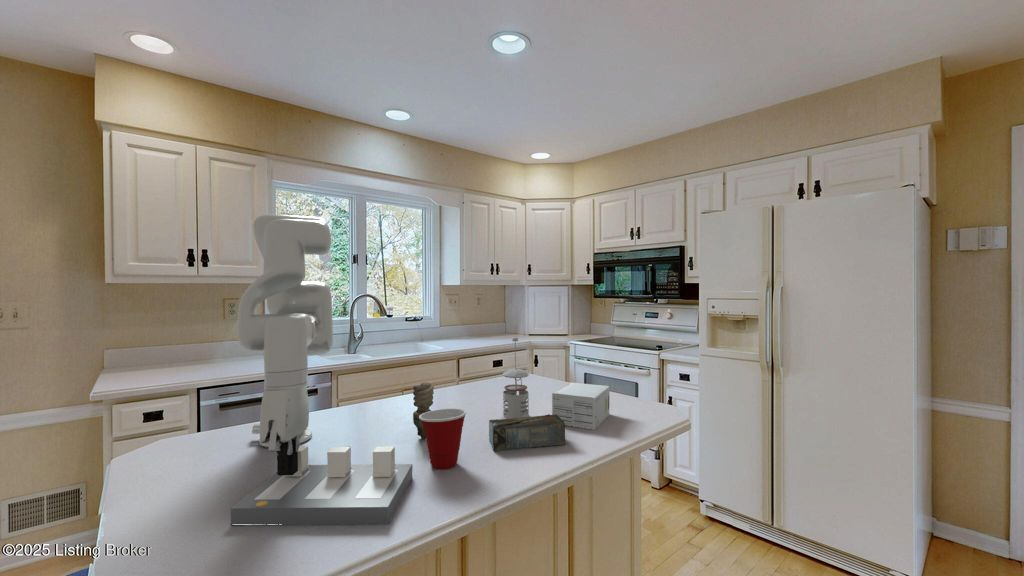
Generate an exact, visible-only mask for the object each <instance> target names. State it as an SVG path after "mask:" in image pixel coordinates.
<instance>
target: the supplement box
mask: <svg viewBox="0 0 1024 576" xmlns="http://www.w3.org/2000/svg"><path fill="white" fill-rule="evenodd" d="M610 392H611V391H610V385H600V384H590V383H581V382H570V383H568V384H566V385H565V386H563V387H562V388H559V389H558V390H557V391H554V392H552V394H551V396H552V397H551V402H552V403H551V404H552V405H551V406H552V407H551V415H555V414H556V415H557V416H558V417H560V418H561V419H562V420H563V421H564V423H565V425H567V426H566V427H571V426H573V428H578V427H579V429H584V428H586V429H585V430H590V429H592V431H595V430H596V429H597V428H598V427H599V426H600V425H601V424H602V423H603V422H604V421H605V420H606V419H607V418H608V416H610Z"/></svg>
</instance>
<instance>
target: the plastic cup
mask: <svg viewBox="0 0 1024 576" xmlns="http://www.w3.org/2000/svg"><path fill="white" fill-rule="evenodd" d="M466 415H467V410H465V409H462V408H441V409H440V408H439V409H433V410H431V411H429V412H426V413H423V414H421V415H419V419H420V420H421V422H422V425H423V428H424V431H425V436H426V438H425V440H426V447H427V452H428V455H429V462H430V465H431V468H433V469H436V470H438V471H439V470H441V471H442V470H443V471H444V470H449V469H452V468H455V467H456V465H457V462H458V459H459V452H460V447H461V441H462V440H461V439H462V432H463V427H464V422H465V417H466Z"/></svg>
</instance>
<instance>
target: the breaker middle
mask: <svg viewBox="0 0 1024 576" xmlns="http://www.w3.org/2000/svg"><path fill="white" fill-rule="evenodd" d="M326 454H327V458H326V460H327V461H326V462H327V463H326V465H327V466H328V473H327V477H346V475H347V474H348V473H349V472H350V471H351V470H352V467H351V465H352V447H351V446H333V447H331V448H330V449H329V450H328V451H327V452H326Z"/></svg>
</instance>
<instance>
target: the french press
mask: <svg viewBox="0 0 1024 576" xmlns="http://www.w3.org/2000/svg"><path fill="white" fill-rule="evenodd" d="M511 341H512V342H514V368H511V369H508V370H506V371H504V372H503V373H502V376H503V377H505V378H509V379H514V382H515V384H508V385H505V386H504V387H503V388H504V390H503V391H502V397H503V399H502V402H503V403H502V405H503V406H502V407H503V409H502V411H503V412H502V413H503V415H501V417H500V418H501V419H510V418H523V417H532V416H531V415H530V413H529V412H530V411H529V407H530V406H529V405H530V404H529V403H530V402H529V401H530V400H529V396H530V395H529V391H528V390H527V389H528V386H527V385H525V384H523V380H522V378H527V377H528V376H530V375H529V374H530V373H529V372H528V371H526V370H523V369H521V368H517V366H516V365H517V361H516V360H517V358H516V356H517V354H516V352H517V351H516V348H517V347H516V345H517V344H516V342H519V338H518V337H515V336H514V337H512V340H511ZM518 381H520V384H518ZM517 392H518V394H517Z"/></svg>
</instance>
